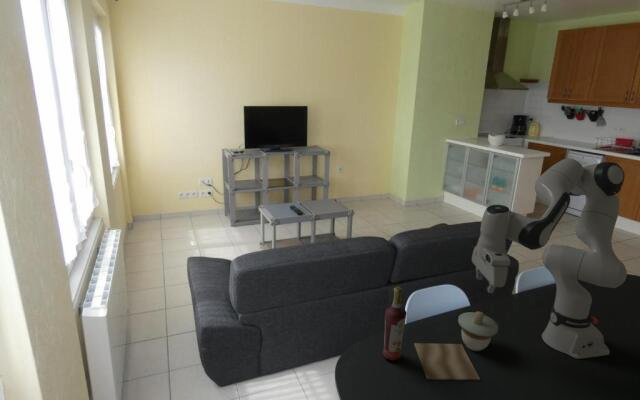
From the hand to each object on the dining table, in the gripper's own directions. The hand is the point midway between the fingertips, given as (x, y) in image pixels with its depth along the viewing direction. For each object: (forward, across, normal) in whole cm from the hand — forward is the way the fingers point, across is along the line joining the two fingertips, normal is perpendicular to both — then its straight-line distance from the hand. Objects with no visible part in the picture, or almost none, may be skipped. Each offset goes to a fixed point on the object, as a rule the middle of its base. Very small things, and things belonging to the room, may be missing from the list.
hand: (484, 285), depth 138 cm
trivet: (+26, +9, -14) cm, 31 cm away
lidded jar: (+26, 0, 0) cm, 26 cm away
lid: (+17, 0, 0) cm, 17 cm away
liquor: (+26, +7, -33) cm, 43 cm away
